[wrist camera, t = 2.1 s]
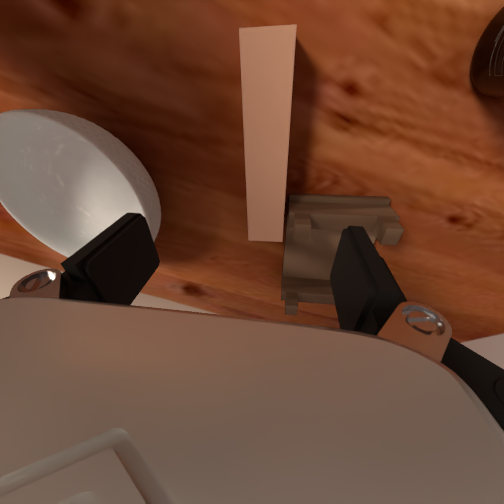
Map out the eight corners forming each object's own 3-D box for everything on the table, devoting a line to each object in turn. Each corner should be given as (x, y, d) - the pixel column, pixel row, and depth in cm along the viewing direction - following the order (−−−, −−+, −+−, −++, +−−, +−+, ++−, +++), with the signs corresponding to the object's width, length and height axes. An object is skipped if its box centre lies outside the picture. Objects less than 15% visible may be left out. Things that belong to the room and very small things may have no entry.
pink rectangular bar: (246, 38, 19) (239, 28, 16) (294, 35, 18) (296, 24, 15) (252, 224, 29) (248, 240, 26) (282, 225, 29) (282, 241, 26)
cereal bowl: (11, 135, 26) (-65, 148, 20) (119, 77, 21) (60, 73, 16) (107, 248, 35) (73, 279, 29) (198, 225, 30) (178, 257, 25)
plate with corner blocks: (289, 193, 26) (290, 218, 21) (387, 196, 25) (413, 223, 20) (281, 284, 35) (280, 316, 30) (353, 289, 34) (364, 324, 29)
